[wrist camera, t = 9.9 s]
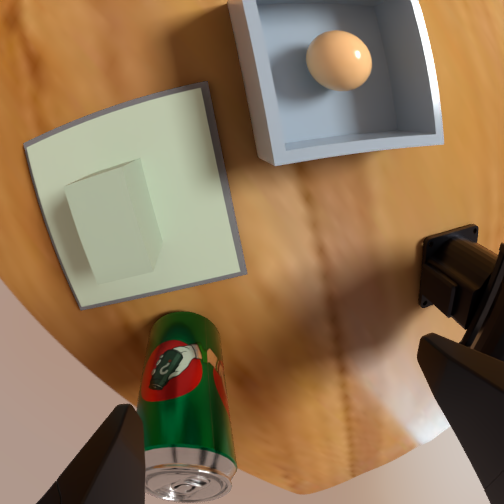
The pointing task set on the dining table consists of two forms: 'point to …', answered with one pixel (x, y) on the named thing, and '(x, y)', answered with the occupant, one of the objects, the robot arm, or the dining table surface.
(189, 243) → the lid
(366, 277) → the dining table surface
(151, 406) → the soda can
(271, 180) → the dining table surface
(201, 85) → the mat
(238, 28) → the grey open box
